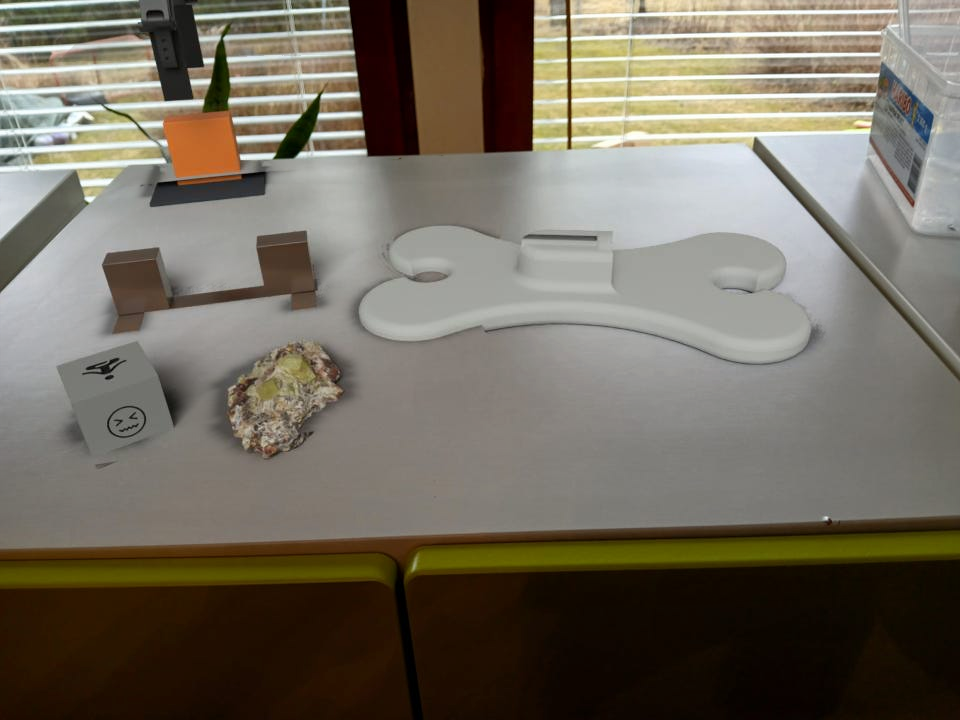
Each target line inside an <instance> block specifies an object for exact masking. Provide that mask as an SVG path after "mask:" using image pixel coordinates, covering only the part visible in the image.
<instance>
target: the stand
mask: <svg viewBox="0 0 960 720" xmlns="http://www.w3.org/2000/svg"><path fill="white" fill-rule="evenodd" d="M255 243H256V244H255V248H256V252H257V258H258V263H259V266H260V267H259V268H260V273H261V278H262V282H263V285H257V286H249V287H240V288H233V289H232V288H231V289H226V290H225V289H224V290H217V291H209V292H208V291H207V292H199V293H192V294H184V295H177V296H174V295H173V291H172V287H171V284H170V280H169V277H168V273H167V271H166V267H165V263H164V259H163V256H162V252H161V248H160V247H158V246H157V247H149V248H139V249H131V250H123V251H114V252H106V254H105V256H104V258H103V261H102V263H101V268H102V270H103V274H104V276H105V281H106V282H107V286H108V289H109V291H110V292H109V293H110V294H111V298H112V300H113V303H114V306H115V310H116V314H115V316H116V317H117V319H116V322H115V325H114V327H113V330H112V333H111V334H112V335H120V334H127V333H128V334H129V333H136V332H140V329H141V326H142V323H143V319H144V316H145V314H147V313H154V312H155V313H156V312H163V311H170V310H179V309H186V308H187V309H188V308H194V307H202V306H210V305H211V306H212V305H217V304H227V303H233V302H241V301H249V300H257V299H258V300H259V299H265V298H266V299H267V298H273V297H274V298H275V297H281V296H282V297H283V296H289V295H291V296H290V299H291V301H290V302H291V303H290V304H291V312H297V311H298V312H299V311H305V310H314V309H317V308H318V306H317V292H318V291H319V286H318V279H317V278H316V277H315V265H314V264H313V261H312V255H311V249H310V244H309V237H308V231H307V230H298V231H290V232H281V233H272V234H271V233H270V234H264V235H257V236H256V241H255Z"/></svg>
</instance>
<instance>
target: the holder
mask: <svg viewBox="0 0 960 720" xmlns="http://www.w3.org/2000/svg"><path fill="white" fill-rule="evenodd" d="M613 236H614V231H612V230H583V229H582V230H579V229H576V230H575V229H574V230H573V229H541V230H536V231H532V232H530V233H528V234H526V235H524V236H523V237H522V239H521V243H517V242H512V241H508V240H505V239H500V238H497V237H493V236H491V235H487V234H484V233H482V232H479V231H477V230H474V229H472V228H469V227H468V228H467V227H463V226H458V225H449V224H448V225H447V224H446V225H443V224H442V225H430V226H424V227H420V228H416V229H412V230H410V231H408V232H405V233H403V234H402V235H400V236H398V237H397V238H396V239H395V240H394V241H393V242H392V243H391V245H390V247H389V249H388V261H389V265H390V266H392V268H394V269H395V270H396V271H397V272H400V273H401V274H404V275H408V276H411V277H415V276H416V275H418V274H421V273H426V272H428V273H429V272H437V273H441V274H444V275H445V276H447V277H445V278H442V279H440V280H437V281H429V282H423V281H421V282H420V281H415V280H411V279H409V278H408V276H401V277H396V278H394V279H389V280H387V281H384V282H382V283H380V284H378V285H377V286H375V287H373V288H371V290H369V291H368V292H367V293H366V294H365V295H364V296H363V298H362V299H361V301H360V304H359V307H358V316H359V321H360V324H361V325H362V326H363V327H364V329H366V330H367V331H368V332H369V333H371V334H372V335H375V336H378V337H381V338H383V339H388V340H393V341H402V342H418V341H428V340H433V339H437V338H441V337H445V336H448V335H451V334H454V333H457V332H460V331H464V330H468V329H471V328H476V327H480V326H481V327H482V328H483V331H484V332H490V331H493V330H498V329H505V328H512V327H520V326H531V325H532V326H533V325H548V324H551V325H554V324H559V325H560V324H563V325H565V324H566V325H567V324H569V325H570V324H571V325H589V326H601V327H609V328H610V327H611V328H616V329H623V330H628V331H636V332H640V333H645V334H649V335H653V336H657V337H661V338H665V339H668V340H671V341H674V342H678V343H680V344H684V345H687V346H689V347H692V348H695V349H698V350H700V351H703V352H705V353H707V354H710V355H711V356H714V357H717V358H720V359H723V360H726V361H728V362H729V361H730V362H736V363H741V364H749V365H764V364H774V363H778V362H779V363H780V362H783V361H786V360H788V359H789V360H790V359H791V358H793V357H795V356H796V355H798V354H800V353H801V352H802V351H803V350H804V349H805V348H806V346H807V345H808V343H809V341H810V337H811V333H812V328H813V327H812V321H811V318H810V316H809V314H808V313H807V311H806V310H805V308H804V307H803V306H802V305H800V304H799V303H798V302H796V301H795V300H793V299H792V298H790V297H788V296H786V295H784V294H782V293H779V292H777V291H773V290H772V289H774V288H775V287H777V286H778V285H779V284H780V283H781V282H782V281H783V279H784V277H785V274H786V270H787V259H786V257H785V255H784V253H783V252H782V251H781V250H780V249H779V248H778V247H777V246H775V245H774V244H772V243H771V242H769V241H768V240H765V239H763V238H759V237H757V236H753V235H749V234H743V233H739V232H726V231H725V232H723V231H722V232H721V231H719V232H718V231H717V232H707V233H702V234H698V235H694V236H691V237H688V238H684V239H681V240H677V241H673V242H667V243H662V244H658V245H652V246H644V247H637V248H627V249H625V248H623V249H613ZM725 289H738V290H743V291H744V290H745V291H746V292H747V291H748V292H749V293H741V292H740V293H739V292H733V291H728V290H725Z"/></svg>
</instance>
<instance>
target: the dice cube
mask: <svg viewBox="0 0 960 720" xmlns="http://www.w3.org/2000/svg"><path fill="white" fill-rule="evenodd" d="M55 367H56V370H57V372H58V375H59V378H60V380H61V382H62V386H63V387H64V390H65V393H66V395H67V398H68V400H69V403H70V406H71V407H72V408H71V409H72V410H73V413H74V415H75V419H76V420H77V424H78V426H79V428H80V431H81V433H82V435H83V438H84V440H85V443H86V446H87V448H88V451H89V453H90V456H91V458H95V457H98V456H100V455H103V454H106V453H109V452H112V451H114V450H117V449H119V448H123V447H125V446H128V445H131V444H133V443H136V442H139V441H142V440H145V439H147V438H150V437H152V436H155V435H158V434H161V433H163V432H166V431H169V430H171V429H174V428H175V426H174V422H173V419H172V415H171V413H170V410H169V407H168V403H167V400H166V397H165V394H164V391H163V387H162V384H161V382H160V378H159V375H158V373H157V372H156V369H155V368H154V366H153V365H152V363H151V362H150V359H149V358H148V356H147V354H146V353H145V351H144V349H143V348H142V346H141V345H140V343H139V341H138V340H135V341H132V342H129V343H125V344H123V345H119V346H116V347H112V348H109V349H106V350H103V351H100V352H97V353H93V354H90V355H87V356H84V357H81V358H80V357H79V358H77V359H74V360H71V361H67V362H65V363H61V364H58V365H56V366H55ZM117 462H119V460H117V461H110V462H103V463H97V464H94V465H95V469H96V470H98V469H101V468H104V467H106V466H110V465H112V464H115V463H117Z"/></svg>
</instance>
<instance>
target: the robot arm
mask: <svg viewBox="0 0 960 720" xmlns="http://www.w3.org/2000/svg"><path fill="white" fill-rule="evenodd" d="M198 3H199V0H138V4H139V9H140V16H141V18H140V21H137V27H138V30H139V32H140V34H142V33H148V35H149V40H150V44H151V49H152V53H153V57H154V62H155V66H156V71H157V75H158V79H159V83H160V87H161V91H162V96H163V100H164V101H163V102H176V101H189V100H191V101H192V100H194V98H195V97H194V93H193V88H192V84H191V79H190V74H189V69H198V68H205V63H204V58H203V52H202V47H201V42H200V37H199V33H198V29H197V28H198V27H197V21H196V18H195V12H194V8H193V4H198Z"/></svg>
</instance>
